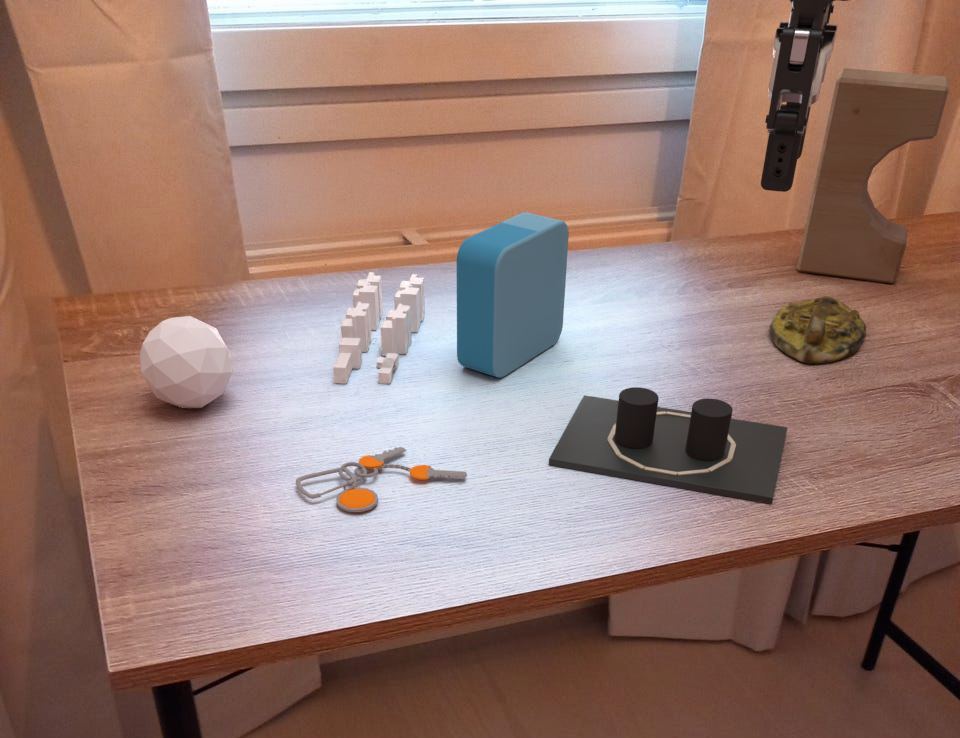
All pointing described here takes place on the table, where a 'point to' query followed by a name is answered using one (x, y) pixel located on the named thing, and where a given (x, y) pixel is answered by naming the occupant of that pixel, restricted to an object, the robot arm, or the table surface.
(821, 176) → the decorative block
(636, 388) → the eye peg
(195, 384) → the geometric ball
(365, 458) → the key chain
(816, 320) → the olive lumpy oval slab
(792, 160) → the robot arm
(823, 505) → the table surface
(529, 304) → the blue rounded slab
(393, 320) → the modular blocks
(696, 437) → the eye peg
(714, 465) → the slate board
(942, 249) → the table surface
